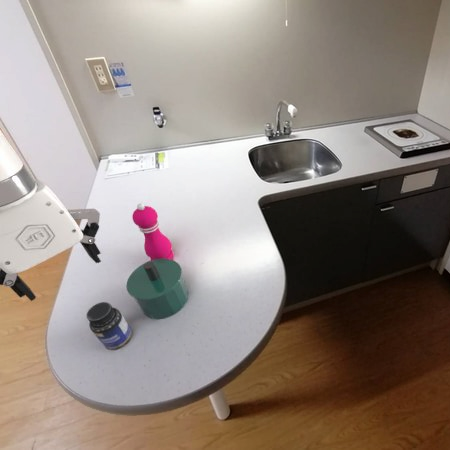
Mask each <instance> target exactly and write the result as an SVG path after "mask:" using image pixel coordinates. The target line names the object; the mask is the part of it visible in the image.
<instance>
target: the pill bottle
mask: <svg viewBox="0 0 450 450" xmlns="http://www.w3.org/2000/svg"><path fill="white" fill-rule="evenodd" d="M86 318H87V320H88V325H89V330H90V331H91V332H92V333H93V334H94V336H95V337H96V338H97V339H98V341H99V342H100V343H101V344H102V345H103V347H104V348H105V349H107V350H110V351H117V350H119V349H121V348H123V347H124V346H126V345H127V344H128V343H129V342H130V341H131V339H132V336H133V330H132V328H131V327H130V325H129V323H128V322H127V321H126V318H124V316H123V314H122V312H121V311H120V310H119V309H118V308H117V307H114V306H112V305H111V304H110V303H109V302H107V301H101V302H98V303H95V304H94V305H92V306H91V307H90V308H89V309H88V311H87V312H86Z"/></svg>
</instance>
